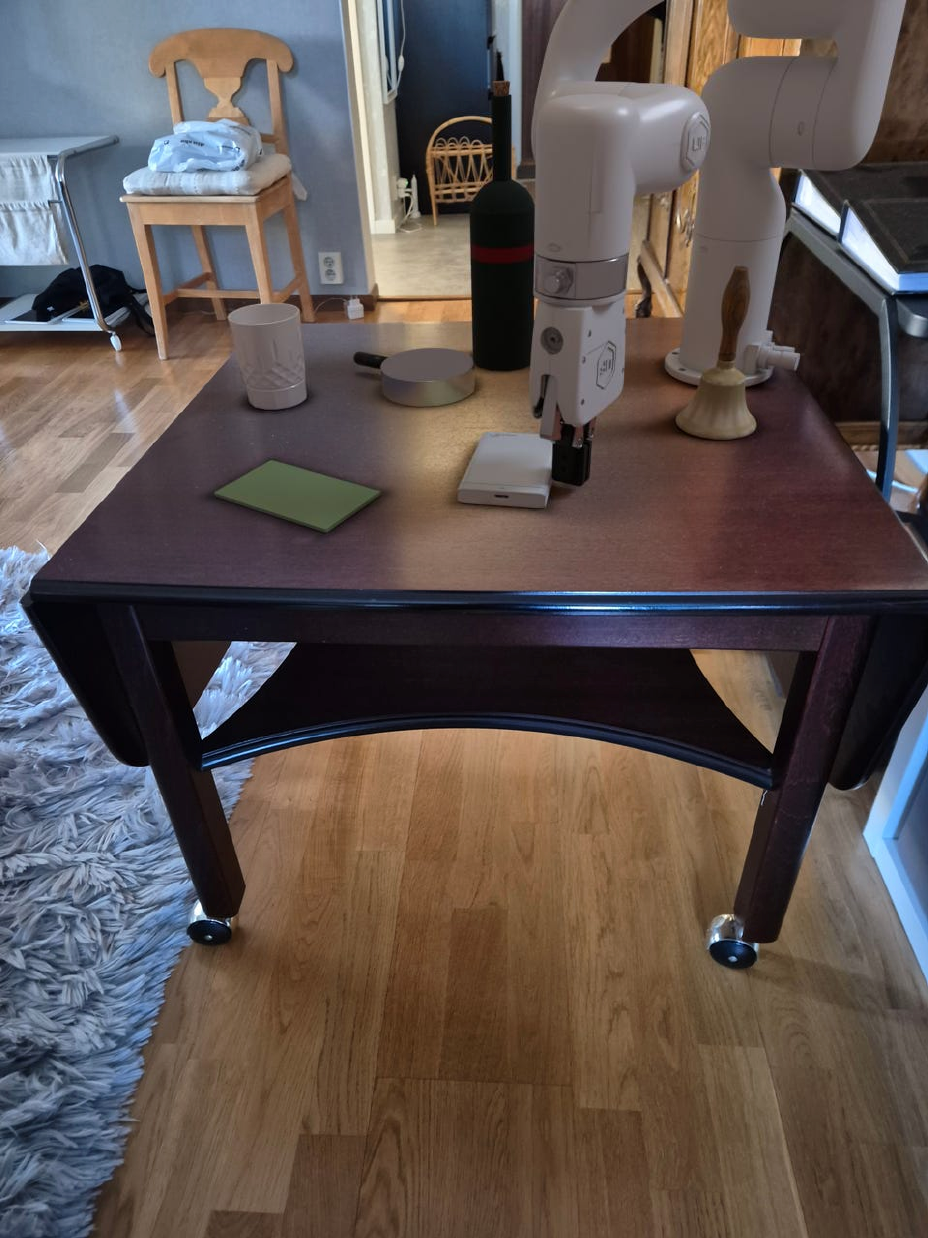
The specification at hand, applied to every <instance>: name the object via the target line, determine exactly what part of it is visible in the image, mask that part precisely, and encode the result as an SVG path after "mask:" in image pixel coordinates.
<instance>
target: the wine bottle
mask: <svg viewBox="0 0 928 1238" xmlns="http://www.w3.org/2000/svg"><path fill="white" fill-rule="evenodd" d="M510 87H511V81H509V80H497V81H496V80H495V81H492V89H493V94H492V95H490V97H491V98H490V103H491V104H490V107H491V111H490V113H491V180H489V181H488V182H487V183H485V184H484V185H483V186H482V187H480V188H479V189H478V191H477V193H476V194H475V196H474V197H473V199H472V201H471V203H470V207H469V209H468V211H469V212H468V213H469V254H470V255H469V256H470V257H469V259H470V297H471V298H470V299H471V301H470V303H471V305H470V306H471V342H472V343H471V344H472V345H471V346H472V348H471V349H472V358H473V360H474V366H476V367H478V368H479V369H484V370H488V371H491V372H494V371H495V372H511V371H516V370H521V369H525V368H527V367H529V366H530V362H531V349H532V338H533V328H534V320H535V296H534V294H533V290H534V232H535V200H534V198H533V196H532V195H531V194H530V192H529V190H528V189H527V187H525V186H523V185H522V184H521V183H519V182H518V181H516V180H514V179H513V175H512V174H513V169H512V168H513V157H512V156H513V154H512V153H513V150H512V149H513V142H512V141H513V138H512V137H513V135H512V132H513V129H512V127H513V126H512V125H513V123H512V121H513V114H512V113H513V109H512V108H513V106H512V104H513V103H512V101H513V100H512V99H513V97H512V94H511V93H510Z"/></svg>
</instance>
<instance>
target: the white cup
mask: <svg viewBox="0 0 928 1238" xmlns="http://www.w3.org/2000/svg"><path fill="white" fill-rule="evenodd" d="M300 312H301V311H300V308H299V307H297V306H296V305H294V304H290V303H284V302H264V303H255V304H250V305H245V306H243V307H242V306H241V307H239V308H237V309H234V310H232V311H231V312H230V313H229V314H228V315H227V321H228V324H229V329H230V333H231V337H232V340H233V345H234V349H235V354H236V357H237V360H238V364H239V367H240V372H241V376H242V378H243V379H242V380H243V381H244V383H245V389H246V393H247V397H248V401H249V403H250V404H251V405H252V406H253V407H254V408H256V409H261V410H265V411H267V410H273V411H274V410H283V409H284V410H285V409H289V408H293V407H295V406H297V405H300V404H301V403H303V402H304V401H306V399H307V397H308V396H307V395H308V391H307V383H306V359H305V348H304V340H303V332H302V331H303V330H302V321H301V313H300Z"/></svg>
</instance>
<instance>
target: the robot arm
mask: <svg viewBox="0 0 928 1238" xmlns="http://www.w3.org/2000/svg"><path fill="white" fill-rule="evenodd" d="M664 1H665V0H567V1H566V3H564V6H563V8H562V9H561V11H560V13H559V15H558V16H557V19H556V20H555V23H554V25H553V27H552V30H551V32H550V36H549V39H548V43H547V46H546V49H545V50H546V51H545V53H544V54H545V55H544V58H543V64H542V68H541V72H540V76H539V81H538V85H537V90H536V94H535V99H534V105H533V112H532V119H531V129H530V130H531V131H530V132H531V133H530V141H531V143H530V144H531V152H532V156H533V160H534V162H535V177H534V179H535V180H534V182H535V183H534V184H535V185H534V186H535V187H534V204H535V232H534V290H533V294H534V299H536V300H537V301H536V307H535V312H534V328H533V338H532V349H531V362H530V365H529V384H528V385H529V388H528V389H529V391H528V392H529V410H530V414H531V416H532V417H533V418H534V419H535V420H539V419H541V420H540V427H539V434H540V438H541V439H545V440H549V441H550V442H551V443H552V470H551V477H552V479H553V481H555V482H557V483H561V484H566V485H570V486H575V487H577V488H578V487H580V488H581V487H582V486H583V485H584V484H585V483H586V482H587V481H588V480H590V477H591V464H592V463H591V462H592V449H593V440H592V439H593V438H594V435H595V429H596V424H597V423H596V421H597V416H598V415H599V414H600V413H602V412H603V411H604V410H605V409H606V408H608V406H610V405H611V404H612V403H613V402H614V401H616V400H617V398H618V397H619V396H620V395H621V393H622V392H623V389H624V381H625V361H626V360H625V359H626V331H627V330H626V329H627V328H626V327H627V317H626V312H627V310H626V295H627V284H628V273H629V272H628V271H629V261H630V260H629V259H630V249H631V237H632V224H633V211H634V200H635V199H634V198H635V196H639V195H657V194H659V195H660V194H665V193H669V192H673V191H675V190H677V189H679V188H680V187H683V186H684V185H685V184H686V183H688V182H689V181H690V180H691V179H692V178H693V177H694V176H695V174H696V173H697V171H698V179H697V180H698V182H697V195H696V205H695V214H694V224H693V233H692V242H691V249H690V250H691V251H690V258H689V266H688V267H689V268H688V276H687V285H686V293H685V302H684V310H683V319H682V328H681V335H680V344H679V347H677V348H675V349H672V350H670V351H669V352H668V353H667V354H666V356H665V358H664V370H665V371H666V372H667V374H669V376H671V377H673V378H675V380H677V381H680V382H683V383H686V384H689V385H694V386H698V385H699V382H700V378H701V375H702V373H703V372H704V371H705V370H707V369H709V368H713V367H715V366H716V365H717V360H718V354H719V352H720V351H719V350H720V345H721V340H722V334H723V327H722V320H721V307H722V299H723V294H724V291H725V288H726V286H727V284H728V282H729V280H730V278H731V276H732V273H733V271H734V268H735V267H736V266H746V267H748V276H749V282H750V291H751V295H750V303H749V308H748V312H747V315H746V318H745V320H744V322H743V324H742V327H741V329H740V331H739V335H738V341H737V349H736V358H735V359H734V360H735V363H734V368H735V369H737V370H739V371H740V372H742V373H743V374H744V376H745V378H746V381H745V388H747V387H751V386H754V385H758V384H761V383H763V382H765V381H766V380H768V379H769V378H771V376H772V375H773V370H774V367H775V368H778V369H779V370H780V369H781V370H787V371H793V372H795V371H797V368H798V366H799V364H800V363H799V362H800V359H801V354H800V353H798V352H795V350H796V347H791V346H786V345H776V343H775V342H774V341H773V342H772V338H773V333H774V332H773V331H772V330H768V329H767V327H768V322H769V316H770V311H771V304H772V299H773V294H774V287H775V283H776V276H777V271H778V265H779V260H780V254H781V253H780V252H781V250H782V249H781V248H782V244H783V243H782V242H783V238H784V237H783V236H784V232H785V227H786V221H787V220H786V219H787V207H786V200H785V197H784V194H783V192H782V189H781V186H780V184H779V182H778V180H777V178H776V176H775V173H774V171H773V169H779V168H782V169H783V168H784V169H796V170H810V171H826V172H828V171H829V172H831V171H832V172H833V171H835V172H836V171H843V170H844V171H845V170H848V169H851V168H853V167H854V166H856V165H858V164H859V163H860V162H861V161H863V159H864V158H865V157H866V155H867V154H868V153H869V151H870V149H871V147H872V145H873V142H874V141H875V140H874V139H875V137H876V134H877V131H878V128H879V125H880V120H881V118H882V117H881V116H882V112H883V108H884V104H885V99H886V94H887V90H888V86H889V81H890V77H891V72H892V68H893V62H894V58H895V53H896V49H897V44H898V39H899V36H900V30H901V27H902V21H903V18H904V17H903V16H904V11H905V8H906V4H907V0H726V2H727V3H726V7H727V8H726V10H727V16H728V17H727V18H728V21H729V25H730V26H731V28H732V30H733V31H734V32H736V33H737V34H739V35H740V36H743V37H746V38H751V39H762V40H831V41H834V42H835V44H836V47H837V48H836V49H837V56H801V55H754V56H743V57H739V58H734V59H732V60H730V61H727V62H725V63H723V64H721V65H720V66H719V67H717V68H716V69H715V70H714V71H713V72H712V73H711V74H710V75H709V77H707V79H706V81H705V83H704V85H703V87H702V89H701V93H700V96H699V95H698V93H696V92H695V91H693V90H692V89H690V88H687V87H685V86H681V85H678V84H672V83H647V82H645V83H643V82H642V83H641V82H640V83H639V82H633V81H631V82H630V81H596V78H597V75H598V72H599V69H600V67H601V65H602V63H603V61H604V59H605V57H606V55H607V53H608V51H609V50H610V48H611V47H612V45H613V44H614V42H615V41H616V40H617V38H618V37H619V36H620V35H621V34H623V32H624V31H625V30H626V29H627V28H628V27H629V26H630V25H631V24H632V23H634V21H635V20H637V19H638V18H639V17H641V16H642V15H643V14H645V13H646V12H648V11H649V10H650V9H652V8H654V7H655V6H657V5H660V3H662V2H664Z"/></svg>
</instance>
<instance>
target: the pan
mask: <svg viewBox="0 0 928 1238" xmlns="http://www.w3.org/2000/svg"><path fill="white" fill-rule="evenodd" d="M352 359H353V362H354V363H355V365H358V366H361V367H367V368H371V369H375V370H376V369H377V370H380V375H381V376H380V378H381V385H382V386H381V387H382V394H383V396H384V397H385V398H386V399H387V400H389V401H391V402H393V403H394V404H398V405H401V406H408V407H420V408H421V407H422V408H426V407H427V408H428V407H429V408H430V407H439V406H445V405H450V404H453V403H457V402H459V401H462V400H465V399H467V398H468V397H469V396H470V395H472V393H474V391H475V388H476V384H475V383H476V382H475V380H476V379H475V378H476V377H475V364H474V360H473V356H471V355H470V354H468V353H466V352H464V351H462V350H461V351H460V350H457V349H452V348H445V347H444V348H443V347H422V348H413V349H407V350H404V351H401V352H397V353H395V354H392V355H389V356H385V355H380V354H374V353H371V352H370V353H369V352H365V351H356V352H355V353H354V354H353V357H352Z"/></svg>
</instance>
